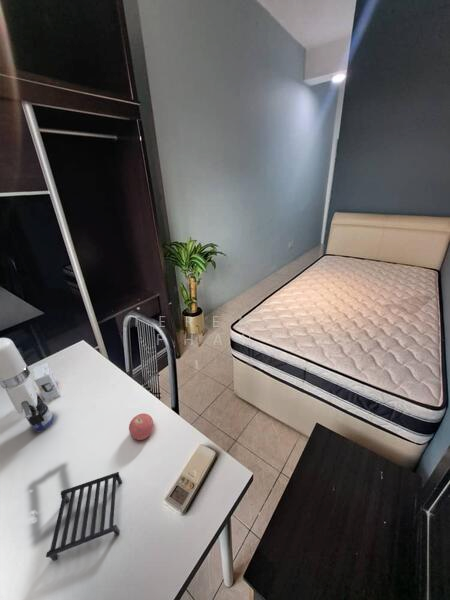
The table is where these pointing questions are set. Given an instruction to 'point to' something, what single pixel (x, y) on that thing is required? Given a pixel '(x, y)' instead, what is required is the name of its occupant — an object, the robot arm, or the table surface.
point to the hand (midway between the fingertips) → (38, 413)
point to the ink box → (46, 382)
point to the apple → (141, 426)
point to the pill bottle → (46, 415)
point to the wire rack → (85, 514)
